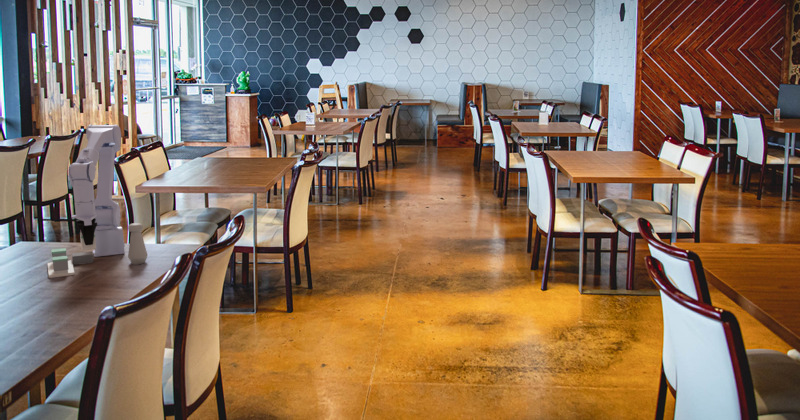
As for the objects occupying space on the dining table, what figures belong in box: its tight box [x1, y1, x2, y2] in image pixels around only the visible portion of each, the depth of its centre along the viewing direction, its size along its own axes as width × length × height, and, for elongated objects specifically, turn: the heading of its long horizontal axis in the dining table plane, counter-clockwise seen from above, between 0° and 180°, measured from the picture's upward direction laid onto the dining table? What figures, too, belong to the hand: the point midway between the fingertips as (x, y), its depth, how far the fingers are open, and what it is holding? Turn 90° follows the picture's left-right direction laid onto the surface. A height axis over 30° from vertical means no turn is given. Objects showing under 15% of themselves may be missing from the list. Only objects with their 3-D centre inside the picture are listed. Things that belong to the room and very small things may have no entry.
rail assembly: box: [47, 247, 75, 279], centre depth 210 cm, size 7×15×5 cm, turn 28°
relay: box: [71, 250, 94, 266], centre depth 219 cm, size 6×4×3 cm, turn 117°
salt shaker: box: [127, 222, 148, 265], centre depth 217 cm, size 6×6×13 cm
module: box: [79, 231, 96, 252], centre depth 212 cm, size 4×4×5 cm
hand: (88, 243), depth 213 cm, fingers closed on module, 4 cm apart
